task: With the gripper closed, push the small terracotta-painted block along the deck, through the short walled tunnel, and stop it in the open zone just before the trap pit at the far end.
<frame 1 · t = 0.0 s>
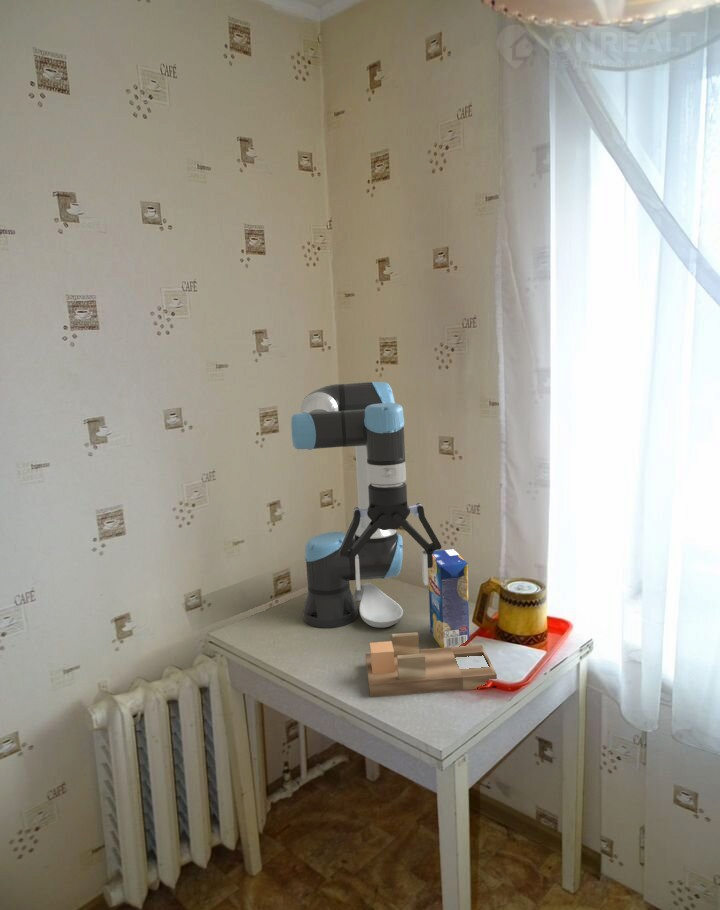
hand: (391, 585, 136), 28 cm above the table, tool pointing down, fingers open, 13 cm apart
beverage box: (449, 640, 172), on the table
deck: (428, 675, 155), on the table
spoon rest: (374, 616, 189), on the table
block: (382, 667, 154), point 3 cm above the table, touching deck
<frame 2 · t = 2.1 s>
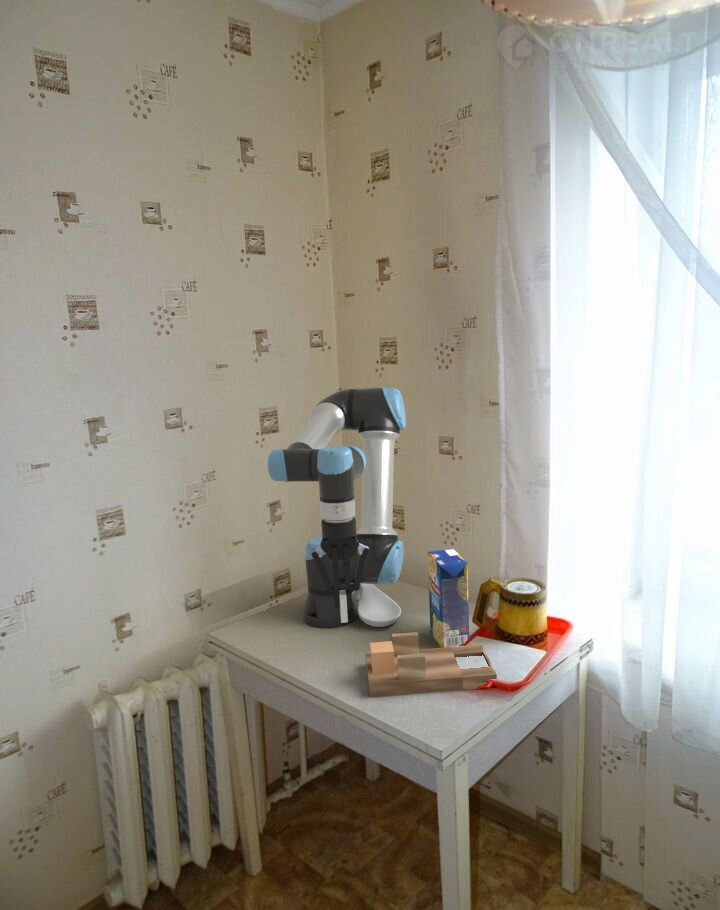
hand: (344, 619, 150), 15 cm above the table, tool pointing down, fingers closed
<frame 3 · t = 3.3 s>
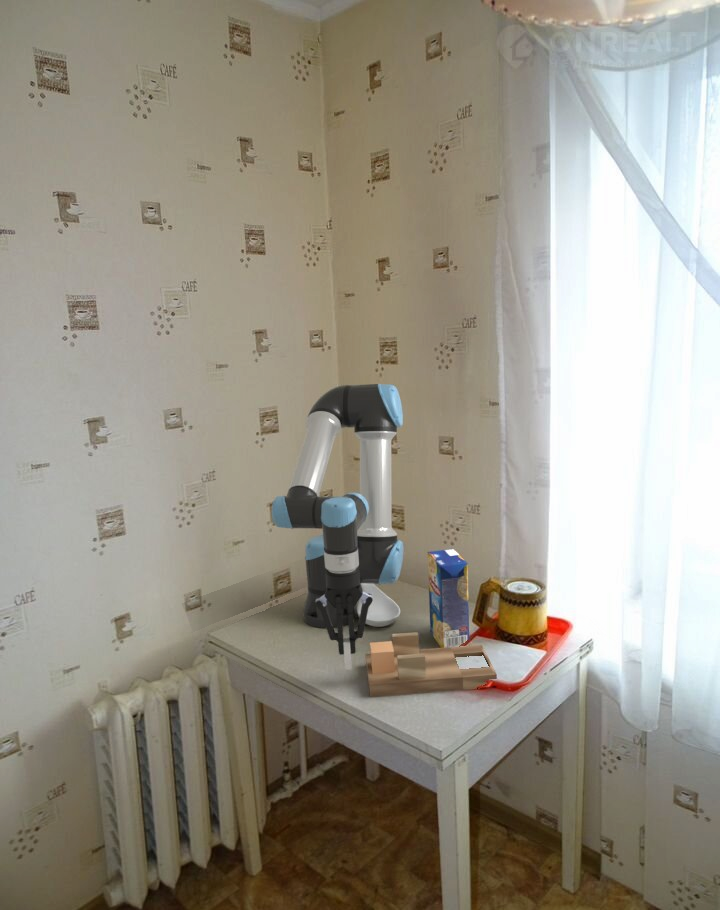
hand: (348, 666, 153), 4 cm above the table, tool pointing down, fingers closed
nothing on the table moved.
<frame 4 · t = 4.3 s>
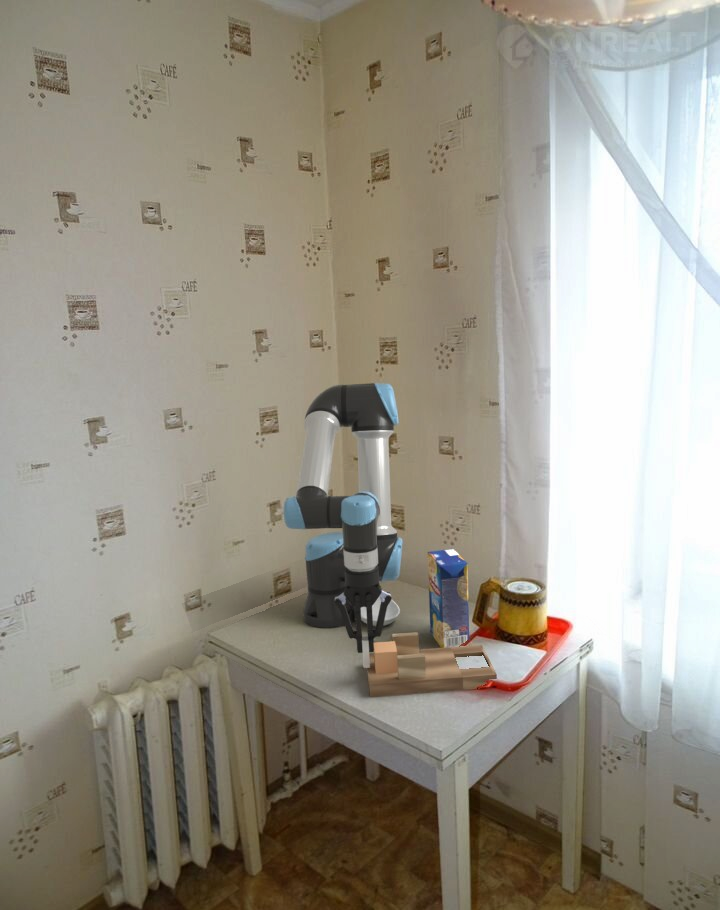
hand: (366, 664, 153), 4 cm above the table, tool pointing down, fingers closed
block: (385, 667, 153), point 3 cm above the table, touching gripper
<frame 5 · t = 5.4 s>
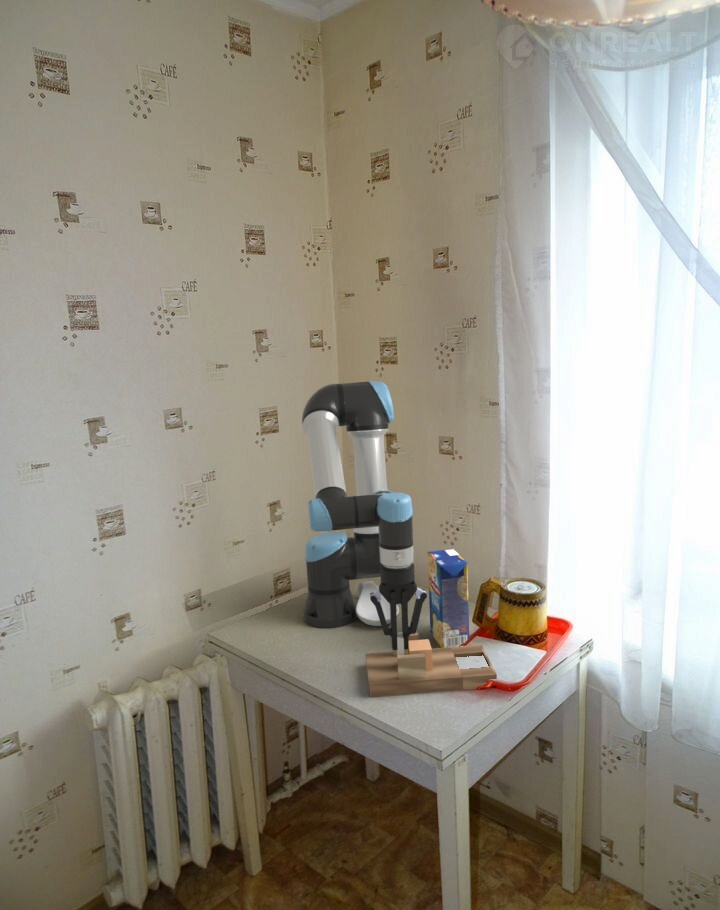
hand: (400, 662, 153), 4 cm above the table, tool pointing down, fingers closed
block: (420, 665, 153), point 3 cm above the table, touching gripper
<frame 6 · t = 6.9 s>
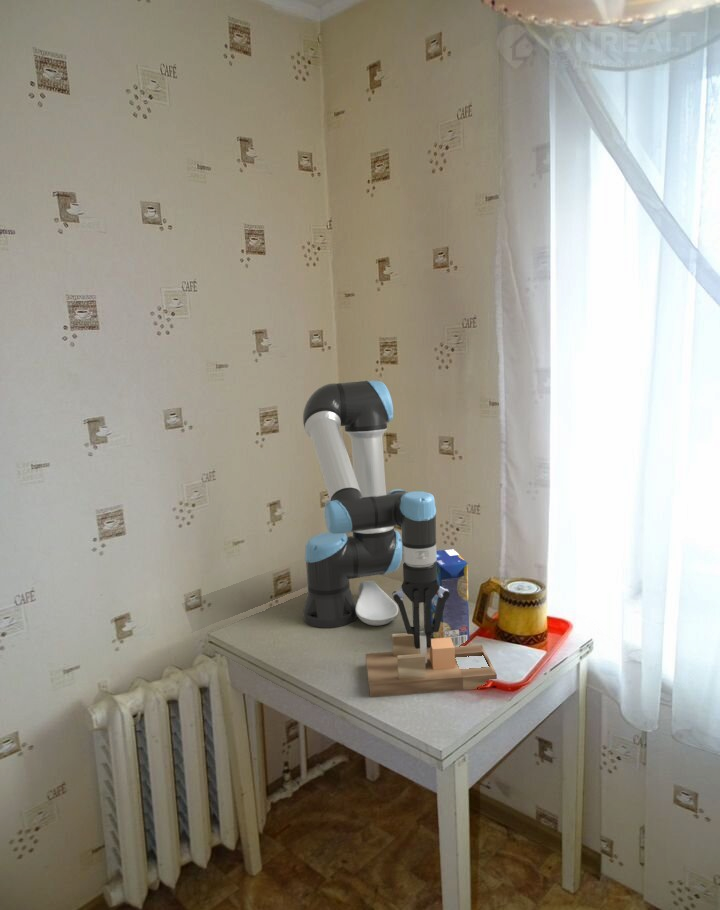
hand: (423, 660, 154), 4 cm above the table, tool pointing down, fingers closed
block: (442, 663, 154), point 3 cm above the table, touching deck, gripper
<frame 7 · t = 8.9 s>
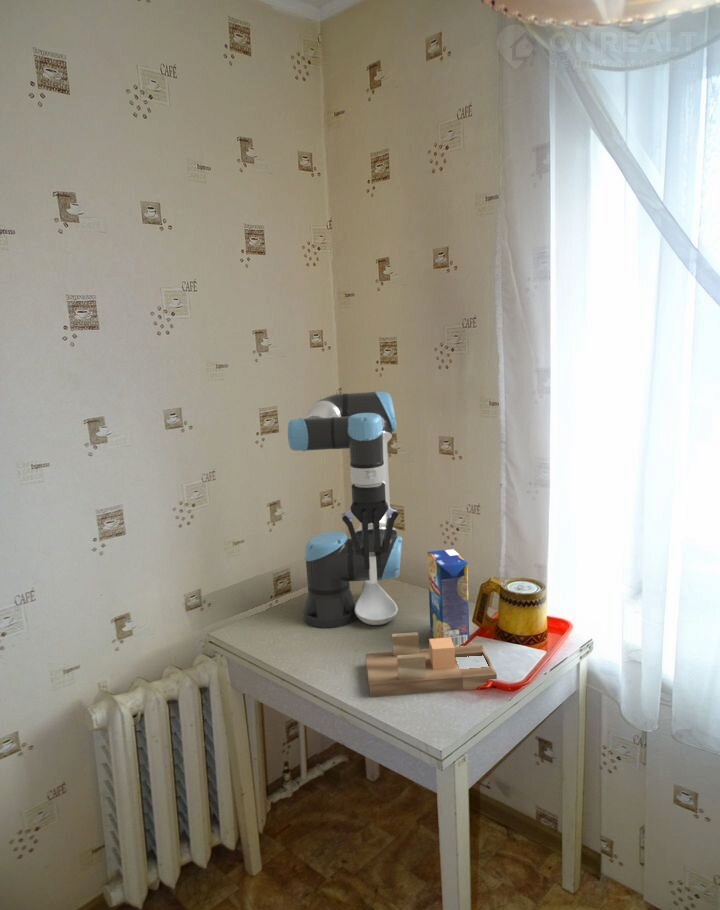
hand: (373, 581, 156), 22 cm above the table, tool pointing down, fingers closed
block: (442, 663, 154), point 3 cm above the table, touching deck
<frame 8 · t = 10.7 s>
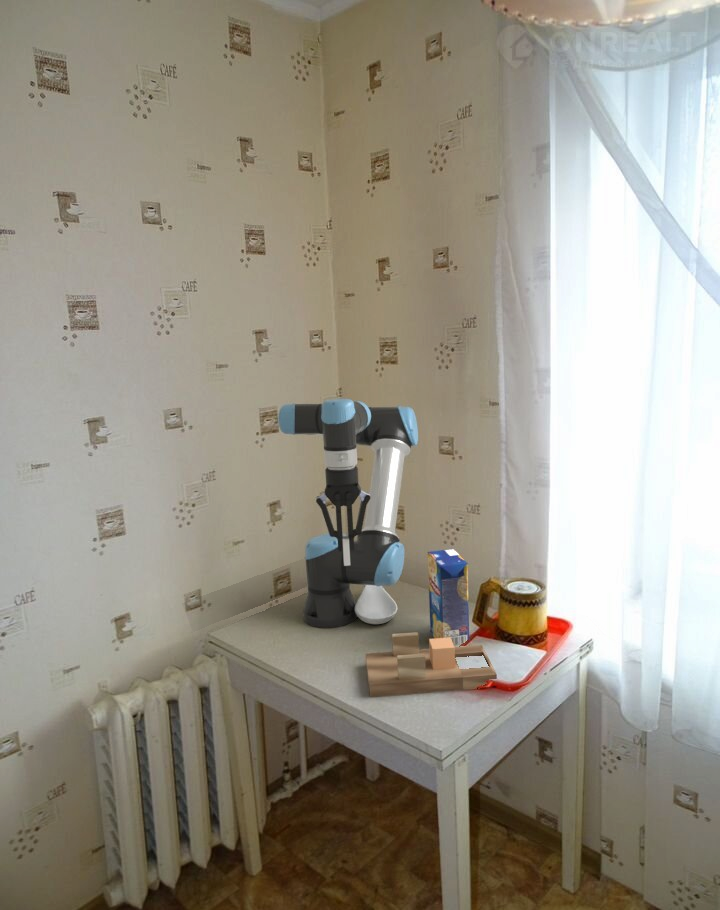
hand: (347, 563, 160), 24 cm above the table, tool pointing down, fingers closed
at the end: block inside the target area on the deck (0.3 cm from its centre), point 3.0 cm above the deck's base; block tilted 0° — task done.
